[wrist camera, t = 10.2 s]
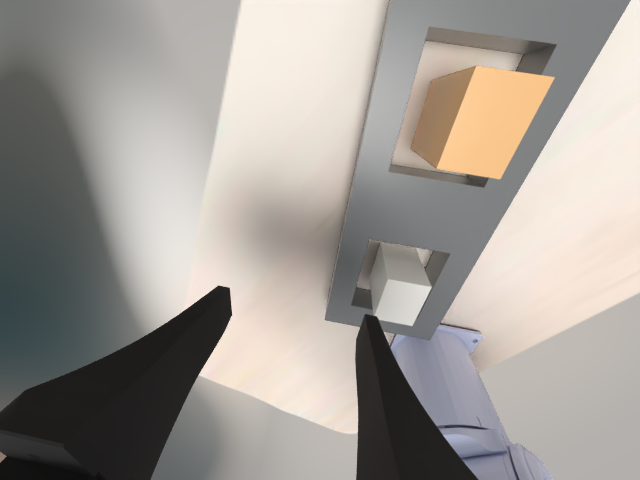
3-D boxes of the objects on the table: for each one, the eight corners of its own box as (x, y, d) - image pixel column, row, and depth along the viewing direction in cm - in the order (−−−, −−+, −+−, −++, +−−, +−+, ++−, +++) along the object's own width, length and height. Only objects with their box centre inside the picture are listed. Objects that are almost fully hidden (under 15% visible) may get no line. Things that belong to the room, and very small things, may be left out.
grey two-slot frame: (423, 319, 24) (429, 340, 22) (327, 301, 24) (324, 320, 22) (593, -3, 12) (646, -27, 10) (395, -29, 12) (403, -57, 10)
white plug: (401, 283, 22) (412, 326, 18) (369, 277, 22) (373, 318, 18) (415, 248, 20) (431, 287, 16) (380, 242, 20) (387, 279, 16)
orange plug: (453, 155, 16) (500, 179, 11) (410, 148, 16) (436, 168, 11) (481, 87, 14) (555, 77, 9) (432, 79, 14) (476, 65, 9)
